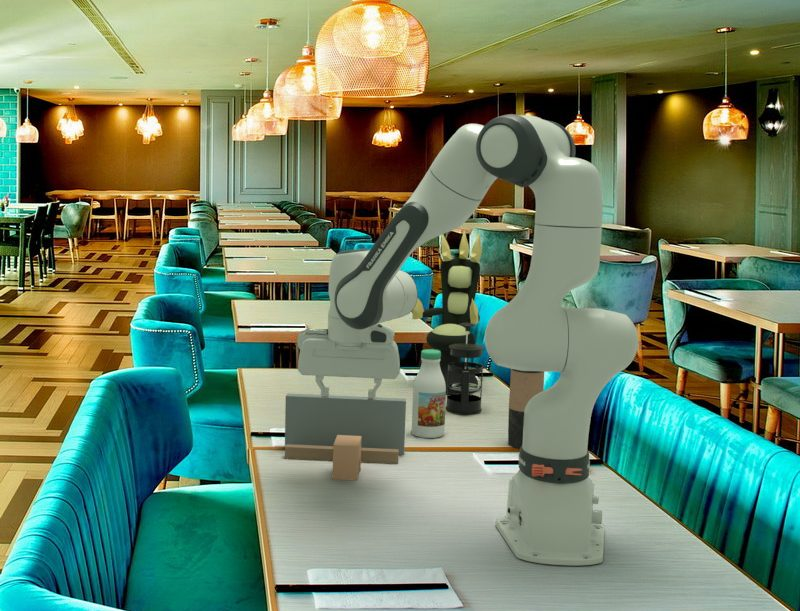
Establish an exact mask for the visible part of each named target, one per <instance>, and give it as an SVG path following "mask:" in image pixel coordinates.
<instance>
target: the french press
mask: <svg viewBox="0 0 800 611" xmlns="http://www.w3.org/2000/svg"><path fill="white" fill-rule="evenodd" d="M459 325H461V326H465V331H466V344H452V345H449V348H451V353H450V354H451V355H452V356H455V357H461V359H462V358H463V359H464V361H462V362H452V363H449V364H448V383H447V394H446V405H445V412H448V413H451V414H453V415H460V416H461V415H462V416H473V415H478V414H480V413H482V411H483V409H482V397H483V396H482V392H483V372H484V366H483V364H482V363H478V362H472V361H467V359H475V358H480V357H482V356H483V354H482V353H483V351H484V349H485V347H484V346H483V345H479V344H476V343H475V344H467V339H468V331H469V326H471V327H476V324H473V323H460V324H459ZM455 367H462V368H455ZM468 368H469V369H468ZM449 371H451V372H454V373H461V383H452V384H449ZM470 374H474V375H477V374H480V385H479V384H478V385H477V384H472V383H469V375H470ZM448 386H449V389H451V390H454V391H458V392H461V393H460V394H448ZM479 391H480V396H478V395H475V394H470V393H474V392H479Z"/></svg>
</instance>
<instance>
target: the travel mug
mask: <svg viewBox="0 0 800 611" xmlns="http://www.w3.org/2000/svg"><path fill="white" fill-rule="evenodd" d="M509 382H510V384H509V398H508V420H507V422H508V426H507V428H508V429H507V430H508V431H507V433H508V434H507V444H508V446H509V447H512V448H515V449H519V448H520V447H521V446H522V445H523V427H524V410H525V407H526V405H527V403H528V402H529V400H530V399H531V398H532V397H534V396H535V395H536V394H538V393H540V392H542V391H544V389H545V386H544V384H545V372H543V371H520V370H515V369H511V368H510V380H509Z"/></svg>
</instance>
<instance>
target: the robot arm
mask: <svg viewBox="0 0 800 611" xmlns="http://www.w3.org/2000/svg"><path fill="white" fill-rule="evenodd" d="M498 179H500V180H502V181H503V182H508V183H509V184H513V185H515V186H517V187H520V188H526V187H528V188H530V190H532V192H533V194H534V198H535V213H534V214H535V215H534V228H533V230H534V231H533V233H534V234H533V243H532V244H533V245H532V253H531V259H530V266H529V270H528V272H527V273H528V274H527V277H526V279H525V281H524V283H523V284H522V286H521V288H520V289H519V291H518V292H517V294H516V295H515V296H514V297H513V298H512V299H511V300H510V301H508V303H506V305H504V306H503V307H501V308H499V309H498V310H497V311H496V312H495V313H494V314H493V315H492V316H491V318H490V319H489V321H488V323H487V325H486V328H485V332H484V344H485V345H484V346H485V348H486V352H487V354H488V356H489V357H490V359H491V360H492V361H493V363H494V364H495V365H496V366H499V367H503V368H507V369H510V370H511V369H515V370H520V371H543V372H544V373H547V372H548V373H549V372H552V373H553V372H554V373H560V376H559V378H558V379H557V381H556V382H555V383H554V384H553V385H552V386H550V387H549V388H547V389H545V390H543V391H542V392H540V393H538V394H536V395H535V396H534V397H532V398H531V399H530V400H529V402H528V403H527V405H526V407H525V410H524V427H523V445H522V446H521V447H520V449H519V453H518V457H517V458H518V469H519V470H518V471H517V472H516V473H515V474H514V475H513V476H512V477H510V478H509V482H508V491H507V501H506V502H507V504H506V511H505V512H506V515H505V516H500V517H497V518H496V519H495V527H496V529H497V530H498V532H499V533H500V535H501V536H502V537H503V539H504V541H505V542H506V543H507V545H508V546H509V548H510V550H511V551H512V553H513V554H514V556H515V557H516V558H517V559H520V560H522V561H527V562H531V563H535V564H536V563H537V564H542V565H543V564H544V565H552V566H590V565H597V564H601V563H603V562H604V552H605V551H604V549H605V547H604V546H605V532H606V531H605V525H604V524H603V510H600V509H599V510H598V509H594V505H599V500H600V499H599V496H598V495H594V494H595V485H596V484H595V482H594V481H593V480H592V479H590V465H591V461H590V460H591V459H590V452H589V451H588V445H589V433H590V428H591V427H590V425H591V417H592V413H593V409H594V406H595V404H596V401H597V400H598V397H599V395H600V394H601V392H602V390H604V387H606V385H607V384H608V383H609V382H610V381H611V380H612V379H613V378H614V377H615V376H616V375H618V374H619V373H621V372H622V371H624V370H625V369H626V368H628V366H629V365H630V364H631V363H632V362H633V361H634V359H635V357H636V355H637V352H638V347H639V336H638V335H639V334H638V332H637V327H636V326H635V324H634V322H633V321H632V320H631V318H630V317H629V316H628V315H627V314H625V313H620V312H617V311H614V310H608V309H604V308H589V307H563V306H562V302H563V300H564V299H565V297H566V295H567V294H568V293H569V292H570V291H572V290H574V289H576V288H577V289H578V288H579V287H581V286H584V285H585V284H587V283H588V282H590V281H591V280H593V278H594V277H595V276H596V275H597V273H598V271H599V268H600V263H601V262H600V259H601V247H602V234H603V233H602V231H603V194H602V192H603V191H602V182H601V176H600V173H599V170H598V169H597V167H596V166H595V165H594V164H593V163H592V162H590V161H588V160H585V159H582V158H579V157H576V143H575V141H574V138H573V137H572V134H571V133H570V131H568V130H567V129H566V128H565V127H564V126H562V125H561V124H559V123H557V122H554V121H552V120H551V121H550V120H546V119H542V118H541V117H538V116H535V115H527V114H526V115H523V114H520V115H519V114H513V113H510V114H504V115H500V116H496V117H495V118H492V119H491V120H489V121H488V122H487V123H486V124H484V125H483V124H479V123H468V124H467V123H466V124H464V125H462V126H461V127H459V128H458V129H457V130H456V132H455V133H454V134H452V136H451V137H450V138H449V139H448V141H447V142H446V143H445V144H444V146H443V147H442V148H441V150H440V151H439V153H438V154H437V156H436V157H435V158H434V160H433V161H432V163H431V165H430V166H429V168H428V170H427V171H426V173H425V175H424V176H423V178H422V179H421V181H420V182H419V184H418V185H417V187H416V189H415V190H414V191H413V193H412V194H411V196H410V197H409V199H407V200H406V202H405V203H404V204H403V206H401V208H400V209H399V210H398V212H397V213H396V214H395V215H394V216H393V218H392V219H391V220H390V222H389V223H388V224H387V226H386V227H385V228H384V230H383V231H382V233H381V234H380V235H379V237H378V238H377V240H376V241H375V243H374V244H373V245H372V247H371V248H370V249H367V248H359V249H358V248H357V249H350V250H342V251H338V252H337V253H335V254H334V255H333V257H332V259H331V263H330V267H329V275H328V296H329V300H330V302H329V303H330V304H329V309H328V312H327V328H305V329H304V330H302V331H300V332H299V333H298V335H297V348H298V349H299V355H298V362H297V371H298V373H299V374H300V375H302V376H315V383H316V385H317V386H318V388H319V389H320V395H321V397H322V398H323V397H324V398H328V397H329V395H330V387H326V386H325V384H324V382H323V380H324V379H325V378H324V377H336V378H337V377H339V378H359V379H373V383H374V384H375V385H374V386H373V388H371V389H370V388H369V389H368V391H367V395H368V396H367V397H368V400H375V399H376V397H377V391H378V389H379V388H380V387H381V384H382V382H383V380H396V379H397V378H398V377H399V376H400V372H401V371H400V370H401V369H400V368H401V367H400V366H401V365H400V362H401V361H400V354H399V347H398V345H397V343H396V341H395V340H394V339H395V329H394V328H392V327H391V326H388V325H385V324H383V323H386V322H391V321H393V320H396V319H399V318H403V317H405V316H407V315H409V314H411V313H412V310H413V309H414V307H415V305H416V303H417V298H418V297H419V293H418V288H417V284H416V282H415V280H414V278H413V277H412V276H411V275H410V274H409V273H408V272H406V271H404V270H402V269H401V268H402V267H403V265H404V264H405V262H407V260H408V259H409V257H410V256H411V255H412V254H413V253H414V251H415V250H417V249H418V248H420V247H421V246H422V245H423V244H426V243H427V242H428V241H431V240H433V239H435V238H438V237H439V236H442V234H443V235H445V234H447V233H449V232H452V231H455V230H457V229H459V228H460V227H461V226H463V224H465V222H466V221H467V220H469V219H470V218H471V216H473V214H474V213H475V211H476V210H477V208H478V207H479V206H480V204H481V203H482V202H483V199H484V198H485V196H486V194H487V193H488V191H489V190H490V188H491V186H492V185H493V184H494V182H495V181H496V180H498ZM418 299H419V298H418Z"/></svg>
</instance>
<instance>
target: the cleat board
mask: <svg viewBox="0 0 800 611" xmlns="http://www.w3.org/2000/svg"><path fill="white" fill-rule="evenodd" d="M284 406H285V410H284V411H285V412H284V413H285V416H284V418H285V419H284V421H285V422H284V423H285V424H284V459H288V460H289V459H290V460H291V459H292V460H293V459H294V460H310V461H311V460H312V461H332V462H333V445H334V442H335V439H336V437H337V435H349V436H362V438H361V463H373V464H374V463H375V464H376V463H379V464H399V456H405V445H406V444H405V443H406V442H405V441H406V439H405V437H406V414H407V413H406V412H407V398H403V397H402V398H397V397H382V396H381V397H379V396H378V397H377V396H376V399H375V400H368V396H354V395H334V394H333V395H330V394H329V397H328V398H324V397H323V398H322V397H321V394H311V393H286V395H285V405H284Z"/></svg>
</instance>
